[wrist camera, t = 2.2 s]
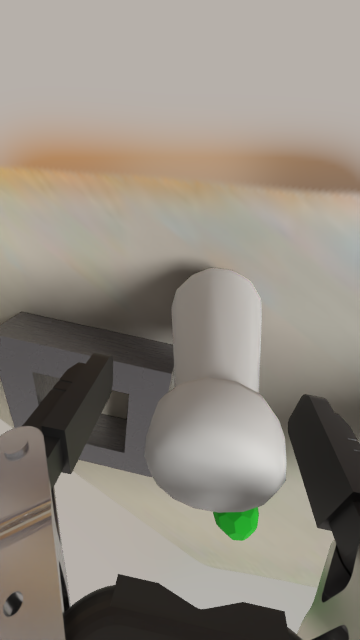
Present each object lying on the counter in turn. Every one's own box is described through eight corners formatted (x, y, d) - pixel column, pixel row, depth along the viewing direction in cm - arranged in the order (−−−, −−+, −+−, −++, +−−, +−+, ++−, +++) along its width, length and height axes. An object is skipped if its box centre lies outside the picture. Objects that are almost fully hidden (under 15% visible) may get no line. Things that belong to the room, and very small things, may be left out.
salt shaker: (162, 285, 18) (67, 452, 7) (230, 241, 16) (259, 377, 5) (204, 342, 20) (186, 546, 9) (270, 309, 18) (362, 525, 6)
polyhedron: (253, 476, 28) (259, 526, 24) (257, 499, 30) (263, 549, 26) (210, 475, 29) (208, 523, 25) (217, 498, 31) (216, 546, 27)
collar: (178, 346, 20) (171, 374, 17) (159, 444, 27) (151, 477, 24) (21, 311, 21) (-12, 333, 18) (41, 417, 28) (19, 445, 25)
